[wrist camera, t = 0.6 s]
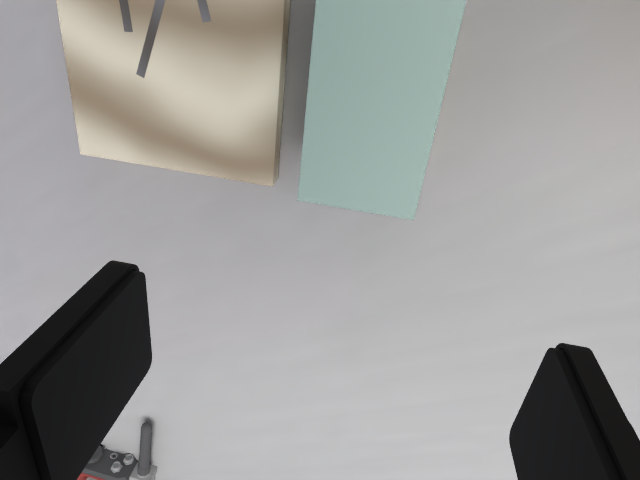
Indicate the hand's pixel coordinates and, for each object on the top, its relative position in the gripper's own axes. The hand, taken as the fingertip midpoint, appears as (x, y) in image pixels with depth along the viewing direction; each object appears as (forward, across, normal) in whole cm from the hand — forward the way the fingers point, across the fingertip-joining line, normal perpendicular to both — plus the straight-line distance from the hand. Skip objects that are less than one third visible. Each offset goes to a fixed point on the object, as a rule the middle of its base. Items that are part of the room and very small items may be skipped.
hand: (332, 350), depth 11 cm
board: (+20, +12, -6) cm, 24 cm away
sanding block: (+20, 0, -3) cm, 20 cm away
